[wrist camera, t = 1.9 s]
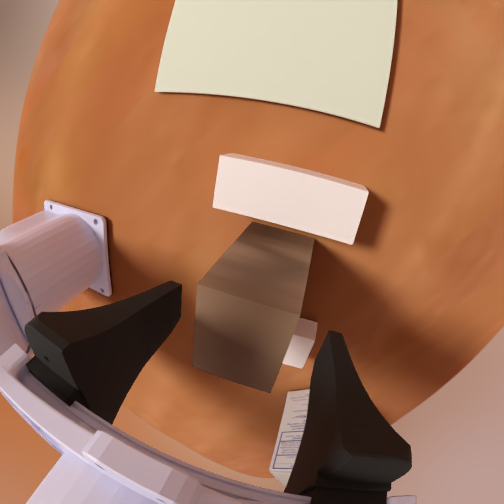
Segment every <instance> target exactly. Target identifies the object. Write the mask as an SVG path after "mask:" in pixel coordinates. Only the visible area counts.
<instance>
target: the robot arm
mask: <svg viewBox="0 0 504 504" xmlns="http://www.w3.org/2000/svg"><path fill="white" fill-rule="evenodd" d="M97 221H98V222H97ZM87 288H91V289H93V290H95V291H97V292H99V293H101V294H103V295H105V296H107V297H109V296H110V295H111V294H112V289H111V281H110V271H109V260H108V246H107V227H106V220H105V218H104V217H103V216H100V215H97V214H93V213H90V212H87V211H83V210H80V209H77V208H74V207H70V206H67V205H64V204H61V203H57V202H54V201H51V200H46V201H45V202H44V211H41V212H39V213H36V214H34V215H32V216H30V217H27V218H25V219H23V220H21V221H18V222H16V223H14V224H12V225H10V226H8V227H6V228H4V229H2V230H1V231H0V392H1V393H2V394H3V396H4V397H5V398H6V400H7V401H8V402H9V403H10V404H11V406H12V407H13V408H14V409H15V410H16V411H17V412H18V413H19V414H20V415H21V416H22V417H23V418H24V420H26V422H27V423H28V424H29V425H31V427H32V428H33V429H34V430H35V431H36V432H37V433H38V434H39V435H41V436H42V437H43V438H44V439H45V440H46V441H47V442H48V443H49V444H50V445H51V446H53V447H54V448H55V449H56V450H57V451H59V452H60V453H61V454H62V456H61V458H60V459H59V460H58V461H57V463H56V464H55V465H54V467H53V468H52V469H51V471H50V472H49V473H48V475H47V476H46V477H45V479H44V480H43V481H42V483H41V484H40V485H39V487H38V488H37V489H36V491H35V492H34V493H33V495H32V496H31V497H30V499H29V500H28V501H27V503H26V504H416V495H405V496H392V497H388V498H387V492H388V491H390V490H391V482H393V481H395V480H396V479H398V478H400V477H401V476H403V475H405V474H406V473H407V472H408V471H409V470H410V469H411V467H412V457H411V447H410V445H409V444H408V443H407V442H406V441H405V440H404V439H403V438H402V437H401V436H400V435H399V434H398V433H397V432H395V430H394V429H393V428H392V427H391V426H390V425H389V424H388V422H387V421H386V420H385V419H384V417H383V416H382V415H381V413H380V412H379V411H378V409H377V408H376V407H375V405H374V404H373V402H372V400H371V399H370V397H369V395H368V394H367V392H366V390H365V388H364V387H363V385H362V383H361V380H360V378H359V376H358V374H357V372H356V370H355V367H354V365H353V362H352V360H351V357H350V355H349V352H348V349H347V346H346V344H345V341H344V338H343V335H342V334H341V333H337V332H334V331H330V330H329V332H328V334H327V336H326V339H325V341H324V343H323V345H322V347H321V349H320V351H319V353H318V355H317V357H316V359H315V363H314V367H313V372H312V376H311V383H310V392H309V401H308V410H307V418H306V423H305V428H304V432H303V436H302V439H301V443H300V446H299V450H298V453H297V456H296V460H295V463H294V466H293V469H292V471H291V474H290V477H289V480H288V482H287V485H286V488H285V490H284V492H279V491H274V490H270V489H265V488H261V487H257V486H253V485H250V484H246V483H242V482H239V481H236V480H232V479H229V478H226V477H223V476H220V475H217V474H214V473H211V472H209V471H205V470H203V469H200V468H198V467H195V466H193V465H190V464H188V463H185V462H182V461H181V460H178V459H176V458H174V457H172V456H169V455H167V454H165V453H163V452H160V451H158V450H157V449H155V448H153V447H151V446H149V445H147V444H145V443H143V442H141V441H139V440H137V439H135V438H134V437H132V436H130V435H128V434H126V433H125V432H123V431H121V430H119V429H118V428H116V427H114V426H113V425H112V424H113V421H114V419H115V417H116V415H117V413H118V411H119V408H120V407H121V405H122V403H123V401H124V399H125V397H126V395H127V393H128V392H129V390H130V388H131V386H132V385H133V383H134V381H135V380H136V378H137V376H138V375H139V373H140V372H141V370H142V368H143V367H144V366H145V364H146V363H147V362H148V360H149V359H150V358H151V357H152V355H153V354H154V353H155V352H156V351H157V349H158V348H159V347H160V346H161V345H162V343H163V342H164V341H165V340H166V338H167V337H168V336H169V335H170V333H171V332H172V330H173V329H174V327H175V326H176V324H177V322H178V321H179V319H180V317H181V295H182V284H179V283H176V282H173V281H169V282H166V283H164V284H162V285H159V286H157V287H155V288H152V289H150V290H148V291H145V292H143V293H140V294H138V295H136V296H133V297H130V298H127V299H125V300H122V301H119V302H116V303H113V304H109V305H105V306H101V307H97V308H91V309H86V310H79V311H69V312H57V311H59V310H60V309H61V308H62V307H64V306H65V305H66V304H67V303H69V302H70V301H71V300H73V299H74V298H75V297H77V296H78V295H79V294H81V293H82V292H83V291H85V290H86V289H87ZM33 353H34V355H35V356H34V357H33V358H32V356H33Z"/></svg>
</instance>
